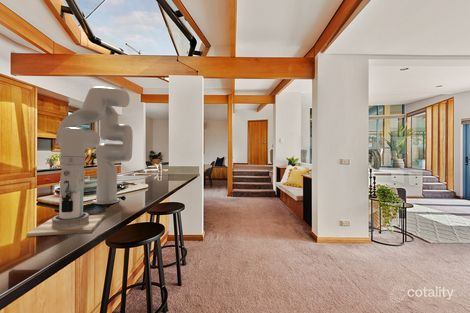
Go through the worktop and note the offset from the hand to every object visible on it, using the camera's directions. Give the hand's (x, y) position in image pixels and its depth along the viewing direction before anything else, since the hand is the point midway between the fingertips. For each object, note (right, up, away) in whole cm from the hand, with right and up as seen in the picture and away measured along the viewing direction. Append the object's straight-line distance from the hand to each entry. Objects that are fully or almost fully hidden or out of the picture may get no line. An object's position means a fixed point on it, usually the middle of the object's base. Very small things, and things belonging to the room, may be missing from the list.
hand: (71, 208), depth 82 cm
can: (0, -4, 0) cm, 4 cm away
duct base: (0, -6, 0) cm, 6 cm away
